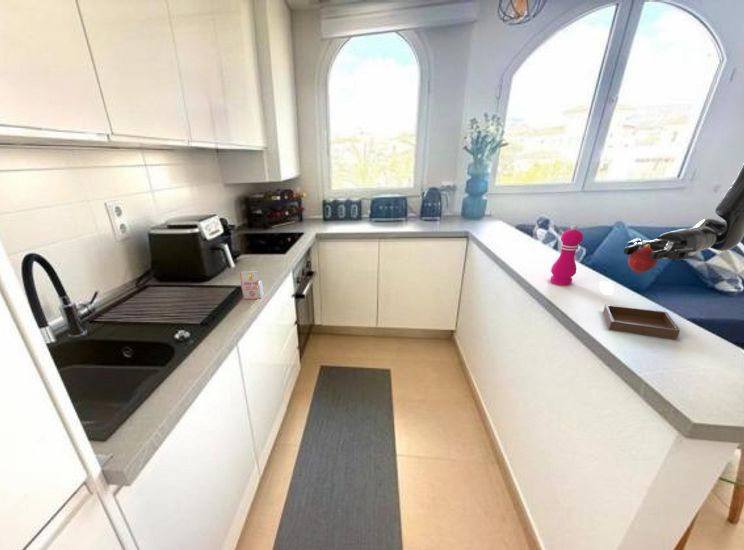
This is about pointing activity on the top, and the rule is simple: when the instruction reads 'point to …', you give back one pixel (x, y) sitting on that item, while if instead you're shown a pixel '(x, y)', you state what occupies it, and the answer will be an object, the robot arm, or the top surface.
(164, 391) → the top surface
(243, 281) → the pink carton box
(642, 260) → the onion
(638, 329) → the serving tray
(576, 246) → the pepper mill
